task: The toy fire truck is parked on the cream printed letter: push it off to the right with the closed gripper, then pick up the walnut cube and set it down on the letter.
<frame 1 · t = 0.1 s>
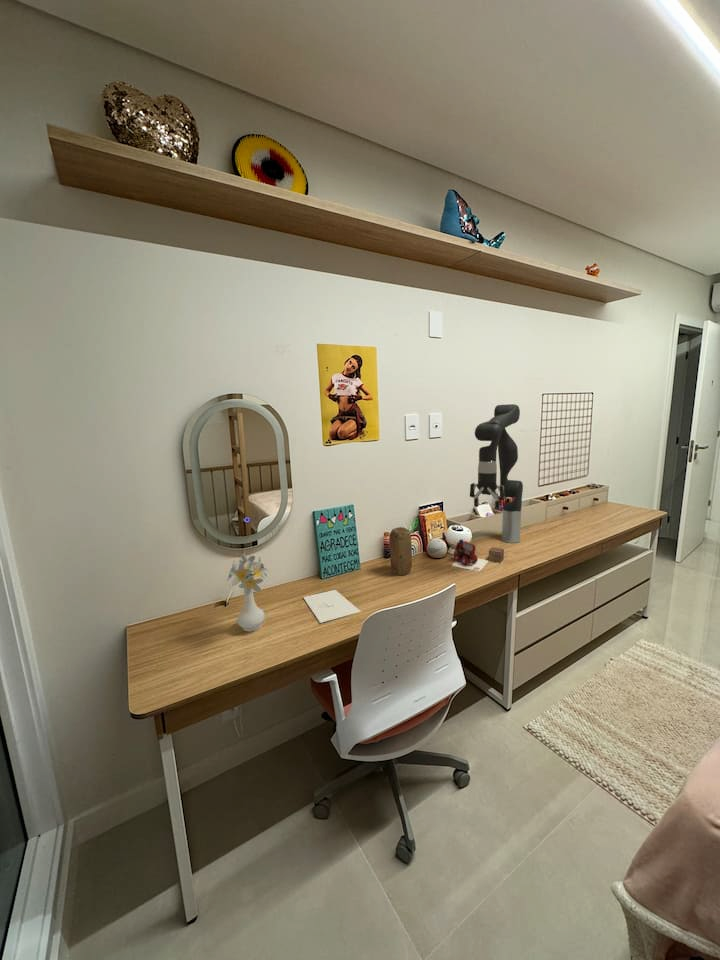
hand: (486, 507, 161), 29 cm above the table, fingers open, 8 cm apart
paper sheet: (344, 602, 144), on the table
cube: (496, 560, 177), on the table
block: (400, 571, 169), on the table
letter: (470, 563, 174), on the table
flower vase: (253, 627, 129), on the table
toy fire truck: (465, 562, 176), resting on letter
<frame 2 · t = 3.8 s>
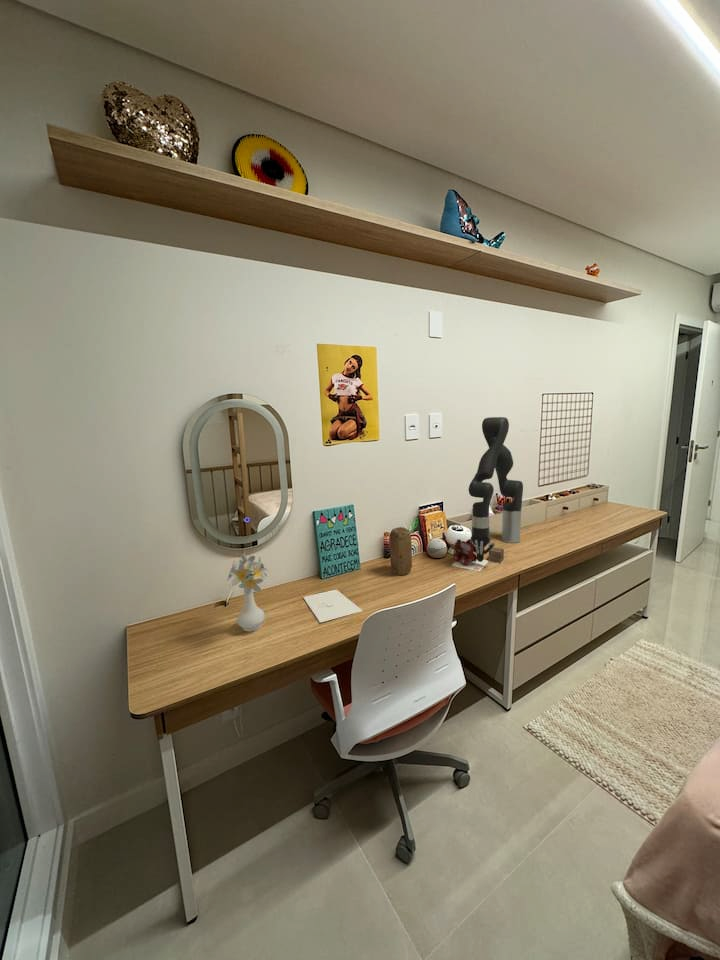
hand: (480, 561, 171), 2 cm above the table, fingers closed
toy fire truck: (464, 561, 176), resting on letter, touching gripper, hand
everything else where it was.
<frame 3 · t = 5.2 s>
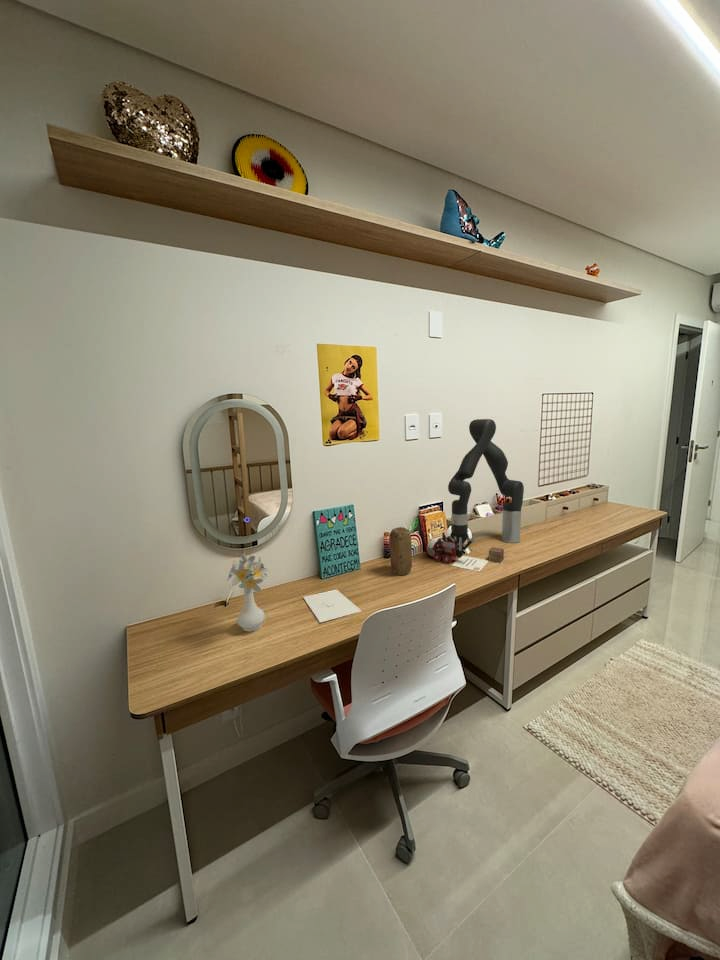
hand: (459, 557, 177), 2 cm above the table, fingers closed
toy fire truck: (444, 560, 180), on the table, touching gripper
everything else where it was.
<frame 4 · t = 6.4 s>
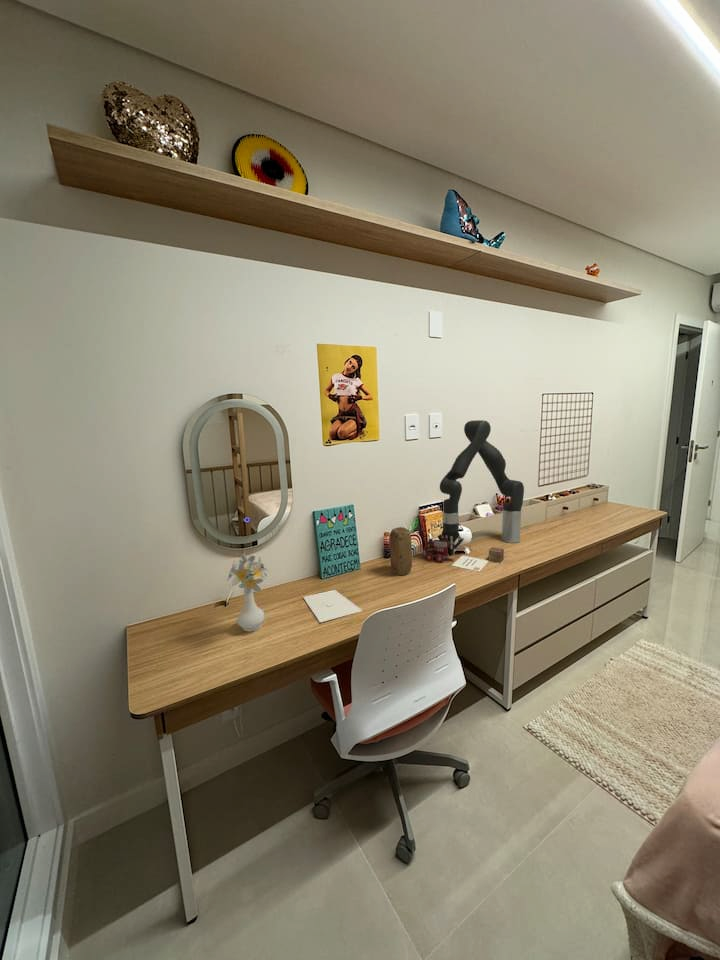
hand: (450, 555, 180), 2 cm above the table, fingers closed
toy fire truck: (435, 559, 181), on the table
everything else where it was.
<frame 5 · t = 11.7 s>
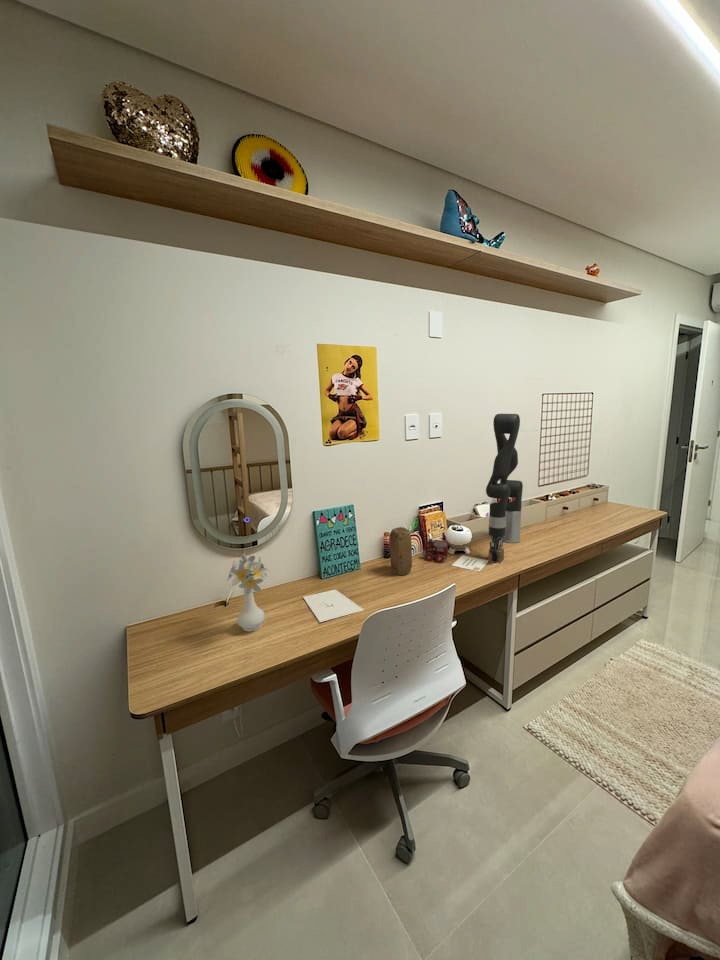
hand: (496, 558, 177), 1 cm above the table, fingers closed on cube, 5 cm apart
cube: (496, 560, 177), on the table, touching gripper
everything else where it was.
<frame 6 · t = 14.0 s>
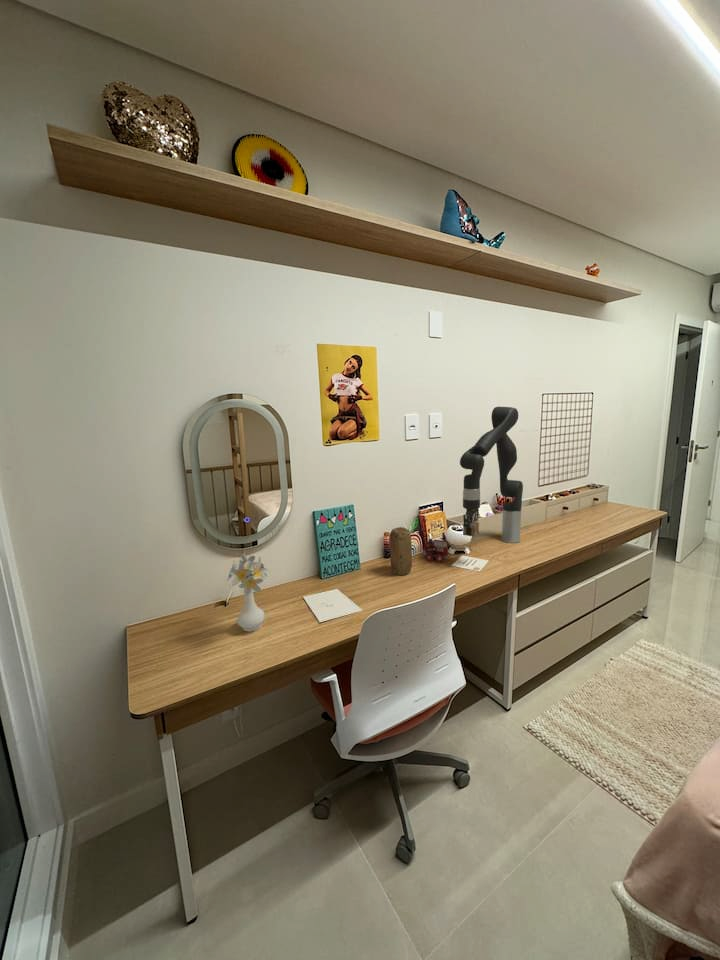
hand: (470, 532, 171), 15 cm above the table, fingers closed on cube, 5 cm apart
cube: (470, 534, 171), point 14 cm above the table, touching gripper
everything else where it was.
when the fingers open (2 cm above the table, at t = 16.7 s): cube drops 2 cm, resting on letter.
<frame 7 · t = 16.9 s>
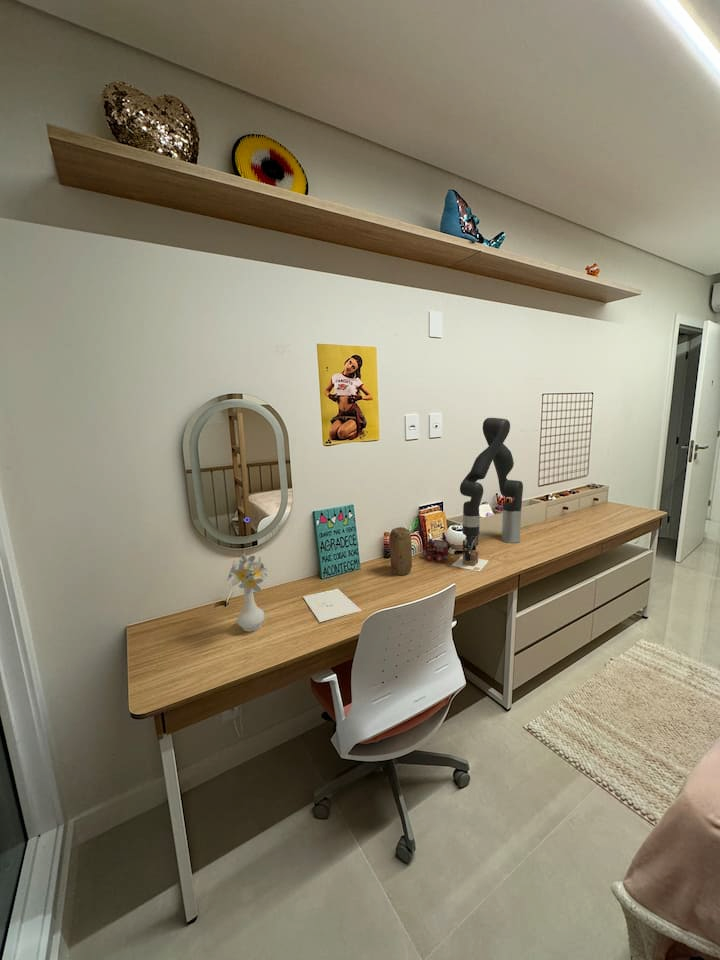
hand: (470, 557, 174), 3 cm above the table, fingers open, 7 cm apart
cube: (470, 562, 174), resting on letter
everything else where it was.
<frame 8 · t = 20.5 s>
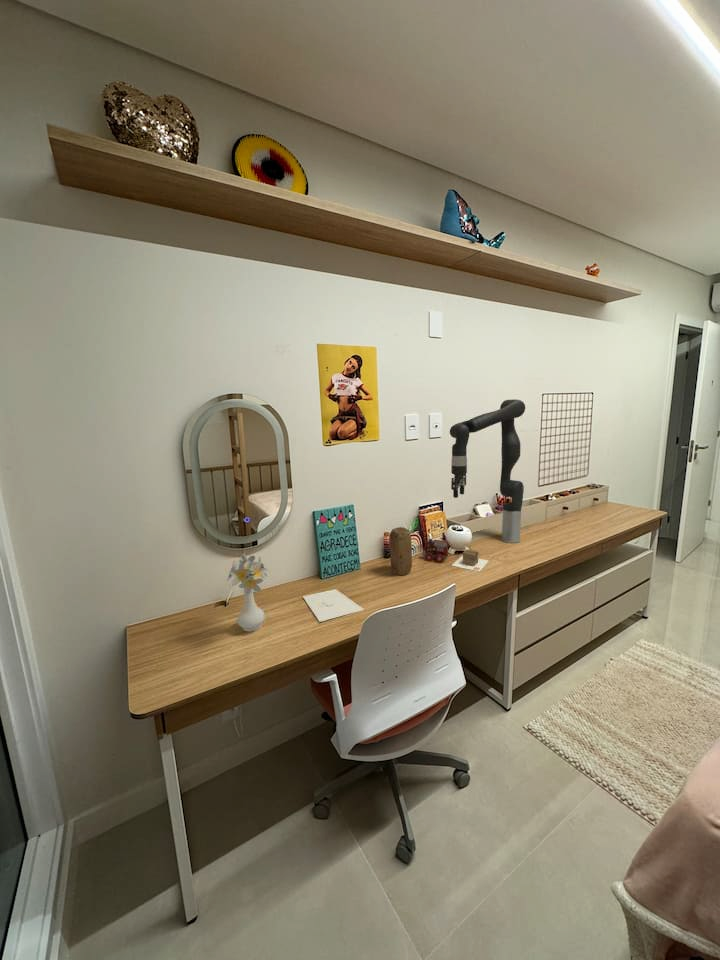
hand: (458, 495, 189), 28 cm above the table, fingers open, 8 cm apart
nothing on the table moved.
at the end: cube inside the target area on the letter (0.0 cm from its centre), point 0.3 cm above the letter's base; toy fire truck touching table; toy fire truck moved 13.9 cm from its start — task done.
